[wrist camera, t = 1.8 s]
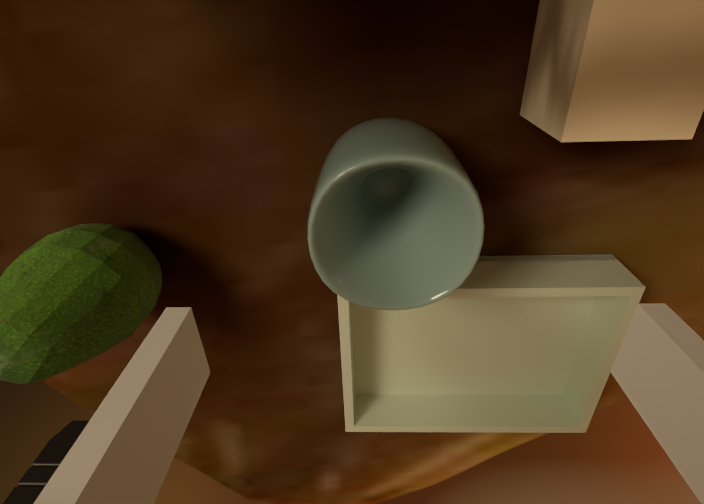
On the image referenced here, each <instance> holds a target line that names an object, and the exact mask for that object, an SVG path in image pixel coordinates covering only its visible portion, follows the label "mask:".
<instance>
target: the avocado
mask: <svg viewBox="0 0 704 504" xmlns="http://www.w3.org/2000/svg"><path fill="white" fill-rule="evenodd" d="M162 285H163V284H162V273H161V268H160V263H159V262H158V260H157V259H156V257H155V255H154V254H153V252H152V251H151V249H150V248H149V247H148V246H147V245H146V244H145V243H144V242H143V241H142V240H141V239H140V238H139V237H138V236H137V235H136V234H134V233H132V232H130V231H128V230H126V229H123V228H121V227H119V226H117V225H112V224H102V223H91V224H80V225H77V226H74V227H71V228H68V229H65V230H62V231H59V232H56V233H53V234H50V235H47V236H46V237H44V238H43V239H41V240H40V241H38V242H37V243H36V244H34V245H33V246H31V247H30V248H29V249H27V250H26V251H24V252H23V253H22V254H21V255H20V256H19V257H18V258H17V259H16V260H15V261H14V262H13V263H12V264H11V265H10V266H9V267H8V268H7V269H6V270H5V271H4V273H3V274H2V275H1V277H0V380H2V381H8V382H13V383H18V384H27V383H31V382H36V381H41V380H45V379H47V378H49V377H52V376H54V375H56V374H58V373H61V372H63V371H65V370H67V369H70V368H72V367H74V366H76V365H78V364H80V363H83V362H85V361H87V360H89V359H91V358H93V357H95V356H97V355H99V354H101V353H103V352H105V351H106V350H108V349H110V348H111V347H113V346H115V345H116V344H118V343H120V342H121V341H123V340H124V339H126V338H128V337H129V336H131V335H132V334H133V333H134V331H135V330H136V329H137V328H138V327H139V326H140V324H141V323H142V322H143V321H144V320H145V319H146V317H147V316H148V315H149V314H150V312H151V311H152V310H153V308H154V307H155V306H156V303H157V300H158V297H159V294H160V291H161V288H162Z"/></svg>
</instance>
